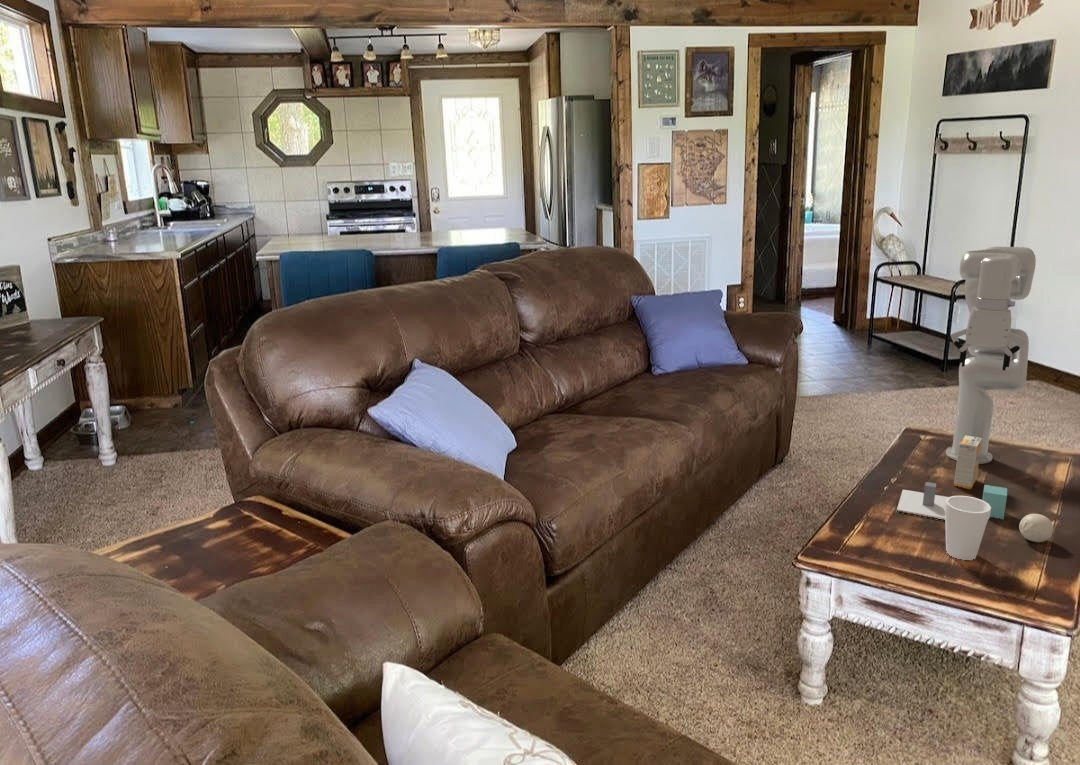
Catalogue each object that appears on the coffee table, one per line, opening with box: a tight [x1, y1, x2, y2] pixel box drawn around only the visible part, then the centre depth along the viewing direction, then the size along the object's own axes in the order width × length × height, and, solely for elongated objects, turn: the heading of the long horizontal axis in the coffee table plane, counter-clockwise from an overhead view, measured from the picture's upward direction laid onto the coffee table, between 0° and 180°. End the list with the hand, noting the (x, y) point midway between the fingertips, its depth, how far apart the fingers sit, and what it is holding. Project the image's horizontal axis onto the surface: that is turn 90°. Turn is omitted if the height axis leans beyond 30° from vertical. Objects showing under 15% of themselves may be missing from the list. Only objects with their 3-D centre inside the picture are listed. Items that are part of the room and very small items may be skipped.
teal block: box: [981, 484, 1008, 520], centre depth 206 cm, size 5×5×7 cm
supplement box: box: [953, 435, 982, 490], centre depth 223 cm, size 8×5×13 cm, turn 143°
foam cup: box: [944, 495, 991, 561], centre depth 185 cm, size 10×9×13 cm
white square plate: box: [896, 481, 949, 520], centre depth 210 cm, size 14×14×6 cm
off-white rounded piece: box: [1018, 513, 1054, 543], centre depth 191 cm, size 7×7×7 cm
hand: (983, 367), depth 211 cm, fingers open, 9 cm apart
